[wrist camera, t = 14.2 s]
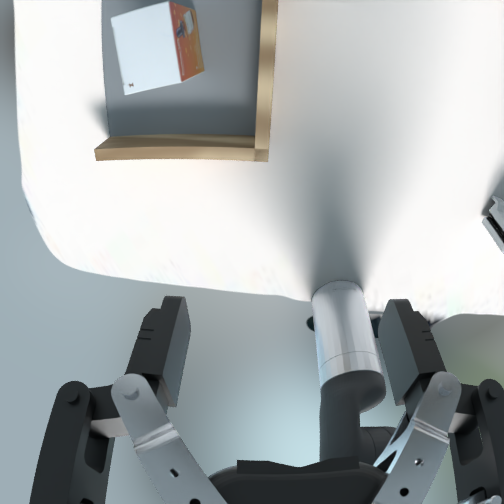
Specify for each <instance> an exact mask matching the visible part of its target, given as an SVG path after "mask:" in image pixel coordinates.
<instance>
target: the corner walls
mask: <svg viewBox="0 0 504 504" xmlns="http://www.w3.org/2000/svg"><path fill="white" fill-rule="evenodd" d="M277 12H278V0H262V14H261V34H260V53H259V73H258V93H257V113H256V133H255V136H251V135H226V134H157V135H132V136H115V137H109V138H108V139H107V140H105V141H104V142H103V143H102V144H100V145H99V146H98V147H97V148H96V149H94V151H95V157H96V161H104V160H130V159H213V160H240V161H259V162H268V154H269V139H270V125H271V109H272V94H273V78H274V63H275V46H276V29H277Z"/></svg>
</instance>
